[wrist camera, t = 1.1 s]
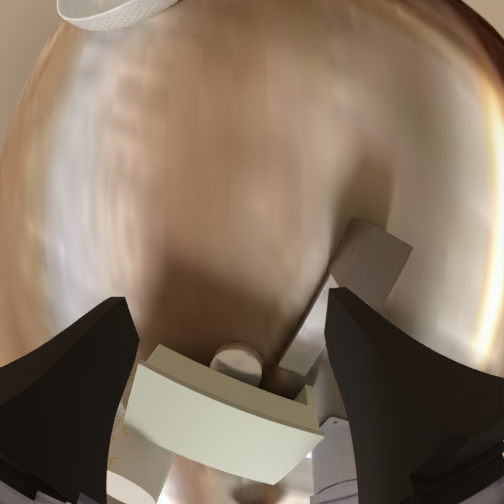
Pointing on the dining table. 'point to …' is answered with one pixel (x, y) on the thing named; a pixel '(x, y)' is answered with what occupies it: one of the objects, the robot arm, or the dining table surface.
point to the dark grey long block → (348, 286)
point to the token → (239, 362)
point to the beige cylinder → (136, 467)
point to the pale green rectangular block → (220, 418)
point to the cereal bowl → (109, 12)
